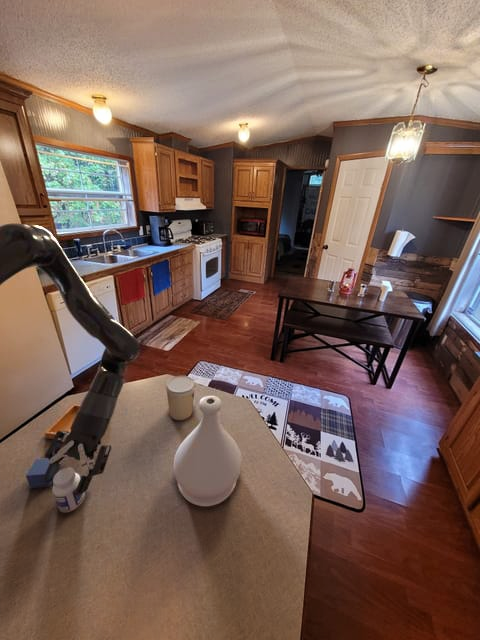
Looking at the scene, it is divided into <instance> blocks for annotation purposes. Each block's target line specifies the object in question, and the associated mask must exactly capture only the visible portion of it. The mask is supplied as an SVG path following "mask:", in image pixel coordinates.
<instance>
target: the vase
mask: <svg viewBox="0 0 480 640" xmlns="http://www.w3.org/2000/svg"><path fill="white" fill-rule="evenodd" d="M222 405H223V403H222V400H221V399H220V398H219V397H218V396H216V395H205V396H203V397H201V399H200V400H199V402H198V408H199V410H200V412H202V416H201V420H200V422H199V423H198V424H197V426H195V428H194V429H193V430H192V431H191V432H190V433H189V434H188V435H187V436H186V438H184V439H183V441H182V442H181V444H180V445H179V447H178V448H177V450H176V453H175V455H174V458H173V473H174V477H175V480H176V482H177V486H178V489H179V492H180V493H181V495H182V497H184V499H185V500H187V501H188V502H189V503H191V504H193V505H195V506H198V507H212V506H215V505H218V504H221V503H222V502H224V501H225V500H226V499H228V498H229V497H230V496H231V494H232V493H233V491H234V490H235V487H236V484H237V480H238V479H239V477H240V475H241V471H242V465H243V459H242V453H241V450H240V448H239V445H238V444H237V442H236V441H235V440H234V438H233V437H232V436H231V435H230V434H229V432H228V431H227V430H226V428H224V427H223V425H222V424H221V422H220V421H219V417H218V413H219V411H221V409H222Z"/></svg>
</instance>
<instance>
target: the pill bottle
mask: <svg viewBox="0 0 480 640" xmlns="http://www.w3.org/2000/svg"><path fill="white" fill-rule="evenodd" d="M80 479H81V476H80V474H79V473H77V472H75V469H74V468H73V467H64V468H62V469H59V471H58V472H57V473H56V474H55V476H54V478H53V482H52V484H53V485H52V495H53V498H54V500H55V503H56V505H57V509H58V510H59V512H61V513H70V512H72V511H74V510H76V509H77V508H78V507H80V506H81V504H82V503H83V501H84V499H85V497H86V495H85V492H84V493H83V494H81V495H75V491H76V489H77V486H78V484H79V481H80Z"/></svg>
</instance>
